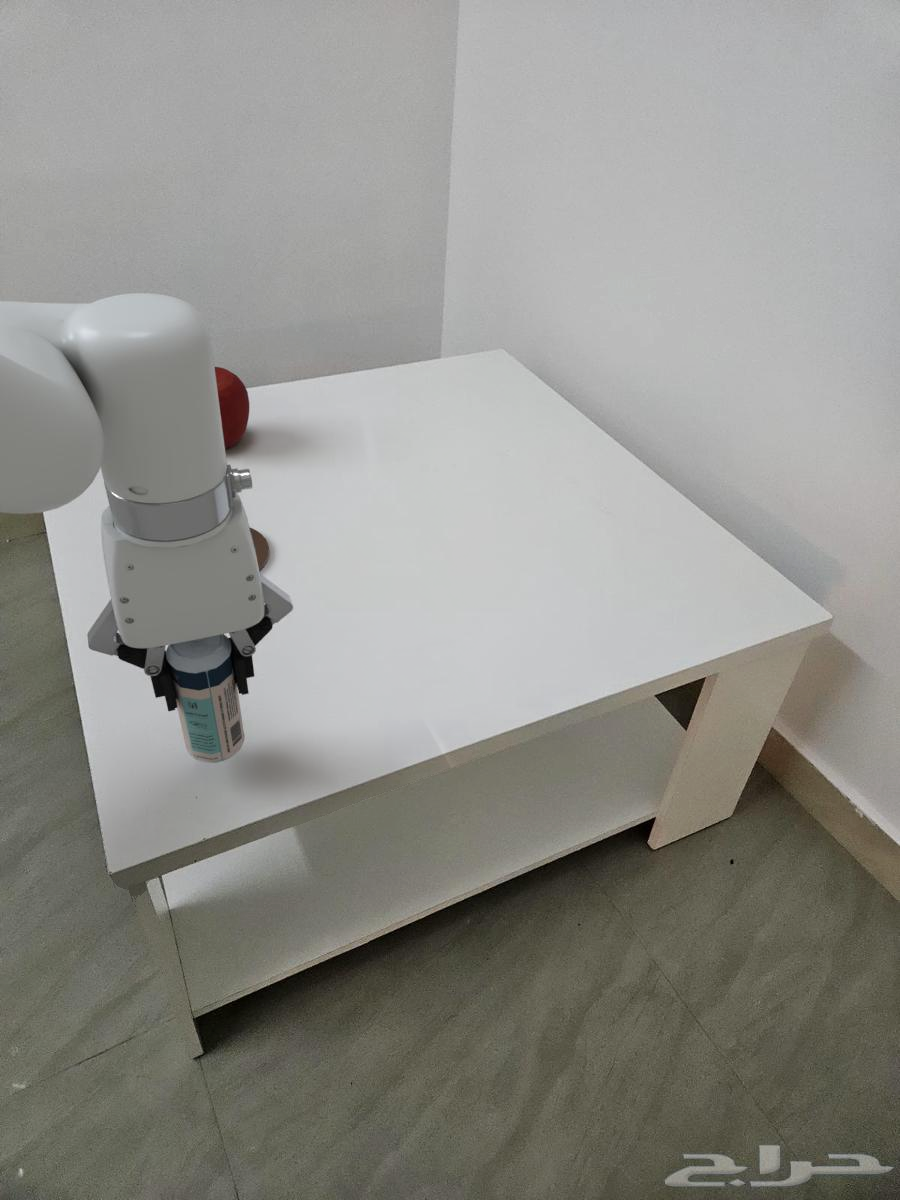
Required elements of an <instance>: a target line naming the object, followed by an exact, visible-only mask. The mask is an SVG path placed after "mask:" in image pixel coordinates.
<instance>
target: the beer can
mask: <svg viewBox="0 0 900 1200" xmlns="http://www.w3.org/2000/svg"><path fill="white" fill-rule="evenodd" d="M228 638H229V637H228V636H227V635H226V634H221V635H216V636H211V637H206V638H201V639H196V640H191V641H186V642H181V643H176V644H170V645H167V647H166V649H165V650H166V658H167V663H168V665H169V669H170V674H171V678H172V683H173V688H174V692H175V697H176V702H177V707H178V708H176V709H177V712H178V717H179V722H180V726H181V731H182V735H183V741H184V744H185V745H184V746H185V749H186V751H187V753H188V755H190V757H192V758H193V759H194V760H196V761H199V762H201V763H208V764H216V763H220V762H224V761H226V760H229V759H231V758H232V757H235V755H237V753H238V752H239V751H240V750H241V749H242V747H243V745H244V742H245V731H244V723H243V718H242V711H241V704H240V696H239V691H238V688H237V684H236V678H235V671H234V665H233V658H232V651H231V642H230V640H229V639H228Z"/></svg>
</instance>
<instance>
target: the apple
mask: <svg viewBox="0 0 900 1200" xmlns="http://www.w3.org/2000/svg"><path fill="white" fill-rule="evenodd" d="M214 367H215V375H216V383H217V391H218V399H219V407H220V415H221V422H222V430H223V438H224V446H225V449H227V448H231V447H233V446H235V445H236V444H238V443H239V442H240V441H241V440H242V438H243V437H244V435H245V433H246V431H247V427H248V424H249V417H250V399H249V393H248V390H247V387H246V385H245V384H244V382H243V381H242V380H241V379H240V377H239V376H238V375H236V374H235V373H234V372H232V371H230V370H228V369H226V368H224V367H220V366H214Z"/></svg>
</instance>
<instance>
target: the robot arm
mask: <svg viewBox="0 0 900 1200" xmlns="http://www.w3.org/2000/svg"><path fill="white" fill-rule="evenodd" d="M212 343H213V342H212V339H211V333H210V328H209V326H208V324H207V321H206V319H205V317H204V316H203V314H202V313H201V312H200V311H199V310H198V309H197V308H196V307H195V306H194V305H192V304H191V303H188V302H187V301H186V300H184V299H181V298H179V297H175V296H171V295H167V294H159V293H153V292H152V293H150V292H149V293H148V292H138V293H137V292H134V293H124V294H117V295H113V296H107V297H103V298H101V299H97V300H95V301H93V302H89V303H64V302H63V303H62V302H61V303H60V302H37V301H36V302H31V301H14V300H12V301H11V300H0V513H2V514H15V515H29V514H41V513H45V512H48V511H53V510H56V509H59V508H61V507H64V506H66V505H68V504H70V503H72V502H73V501H74V500H76V499H77V498H79V497H80V496H81V495H83V494H84V493H85V492H86V490H87V489H88V488H89V487H90V486H91V485H92V484H93V482H94V480H95V479H96V477H97V475H98V474H99V472H100V471H101V476H102V480H103V485H104V489H105V493H106V497H107V501H108V506H107V507H105V509H104V510H103V511H102V514H101V521H100V533H101V534H100V535H101V547H102V554H103V555H102V556H103V562H104V563H103V564H104V568H105V573H106V579H107V586H108V591H109V595H110V600H109V601H108V603H107V604H106V605H105V607H104V608H103V610H102V612H100V614H99V616H98V617H97V618H96V620H95V622H93V625H92V626H91V627H90V628H89V630H88V632H87V646H88V648H89V649H90V650H92V651H93V652H97V653H101V654H105V655H107V656H111V657H112V656H116V657H117V658H118V659H119V660H120V661H122V662H125V663H128V664H130V665H133V666H135V667H138V668H140V669H142V670H143V672H144V674H145V675H146V676H149V677H150V680H151V685H152V689H153V693H154V697H155V699H158V698H162V697H164V698H165V702H166V707H167V711H168V712H172V711H176V709H177V708H178V707H177V702H176V697H175V692H174V688H173V683H172V678H171V674H170V669H169V665H168V663H167V658H166V650H167V649H166V646H168V645H170V644H176V643H181V642H186V641H191V640H196V639H201V638H206V637H211V636H216V635H221V634H224V635H226V634H228V635H229V637H228V639H229V640H230V642H231V651H232V658H233V665H234V671H235V678H236V684H237V689H238V695H240V694H241V696H243V695H248V694H250V693H249V685H248V679H250V678H254V677H255V667H254V660H253V655H254V654H255V653H256V651H257V648H256V646H257V645H258V644H259V643H260V642H261V641H262V640H263V639H264V638H265V637H266V636H267V635H268V634H269V633H270V632H271V631H272V629H273V626H274V625H275V624H278V623H279V622H280V621H282V619H284V618H285V617H286V616H288V615H289V614H290V613H291V612H292V611H293V610H294V605H293V602H292V599H291V597H290V595H289V594H288V593H287V592H285V591H284V590H283V589H282V588H280V587H278V586H277V585H276V584H275V583H273V582H272V581H271V580H269V579H268V578H267V577H265V576H264V575H262V574H261V571H259V567H258V562H257V557H256V552H255V547H254V543H253V539H252V535H251V531H250V528H251V527H250V523H249V519H248V516H247V512H246V510H245V507H244V503H243V502H242V499H241V497H240V496H239V495H240V494H239V493H242V491H244V490H251V489H253V479H252V475H251V471H250V469H249V468H244V469H238V468H232V466H231V464H228V463H227V455H226V448H225V446H224V438H223V430H222V422H221V415H220V407H219V399H218V391H217V383H216V375H215V367H216V366H215V360H214V359H215V358H214V351H213V345H212Z"/></svg>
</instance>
